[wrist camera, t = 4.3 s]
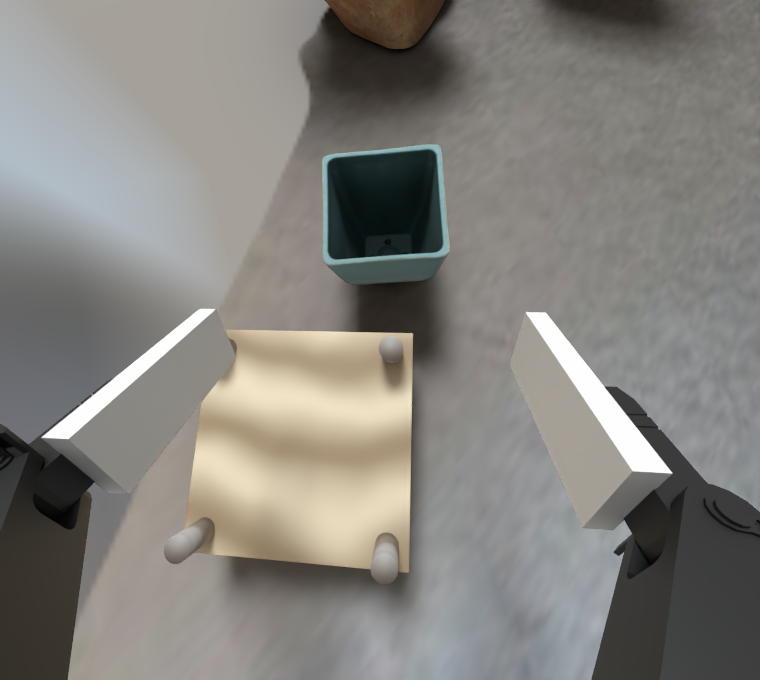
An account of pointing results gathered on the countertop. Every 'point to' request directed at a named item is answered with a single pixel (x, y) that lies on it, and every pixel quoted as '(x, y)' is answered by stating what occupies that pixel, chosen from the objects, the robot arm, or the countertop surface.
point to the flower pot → (385, 214)
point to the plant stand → (306, 453)
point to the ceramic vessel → (387, 19)
